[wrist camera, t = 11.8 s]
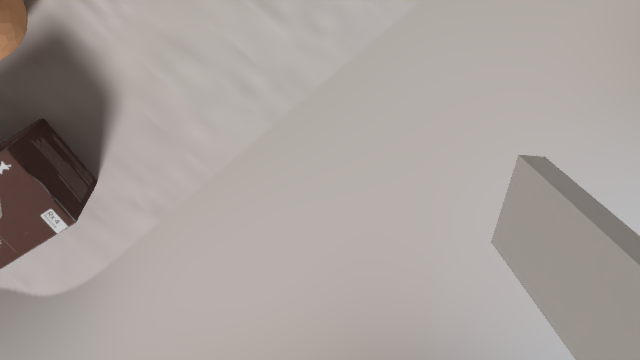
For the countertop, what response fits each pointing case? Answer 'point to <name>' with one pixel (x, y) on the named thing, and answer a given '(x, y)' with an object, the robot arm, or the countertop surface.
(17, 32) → the egg
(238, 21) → the countertop surface
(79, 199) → the box
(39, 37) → the countertop surface
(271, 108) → the countertop surface
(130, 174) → the countertop surface
